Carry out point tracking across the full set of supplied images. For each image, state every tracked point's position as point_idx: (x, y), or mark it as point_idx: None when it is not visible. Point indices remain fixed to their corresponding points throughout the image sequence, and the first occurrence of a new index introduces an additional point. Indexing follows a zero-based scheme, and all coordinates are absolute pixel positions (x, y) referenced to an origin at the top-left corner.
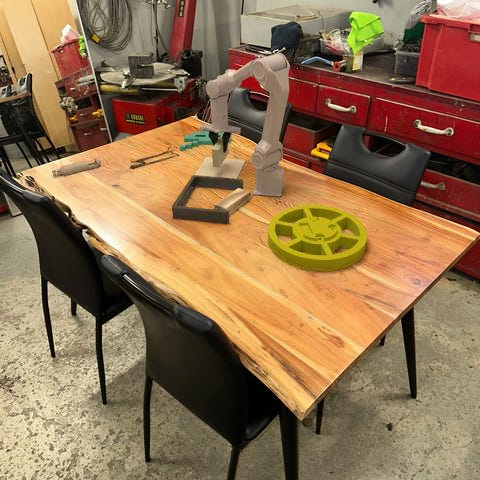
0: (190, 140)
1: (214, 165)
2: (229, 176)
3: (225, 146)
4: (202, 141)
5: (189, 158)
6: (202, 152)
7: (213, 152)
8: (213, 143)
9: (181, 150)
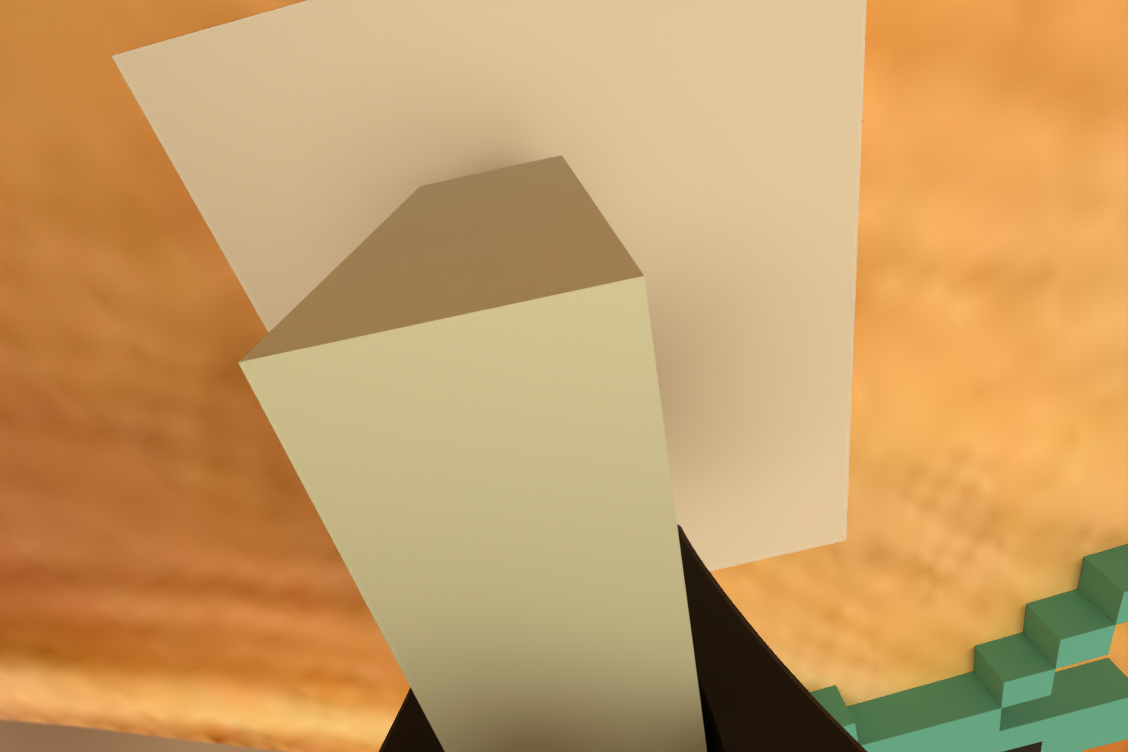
0: (1066, 692)
1: (527, 169)
2: (343, 247)
3: (398, 714)
4: (959, 713)
5: (1017, 459)
6: (907, 593)
7: (536, 243)
8: (786, 705)
9: (1126, 549)
